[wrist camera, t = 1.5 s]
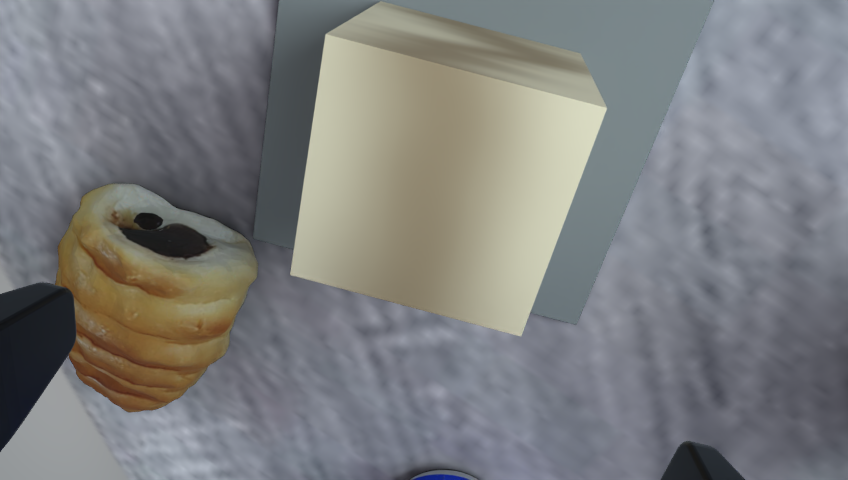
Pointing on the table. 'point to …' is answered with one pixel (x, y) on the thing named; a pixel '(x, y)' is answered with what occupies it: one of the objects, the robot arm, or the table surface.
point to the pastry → (150, 293)
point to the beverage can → (443, 475)
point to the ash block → (442, 164)
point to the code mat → (529, 19)
